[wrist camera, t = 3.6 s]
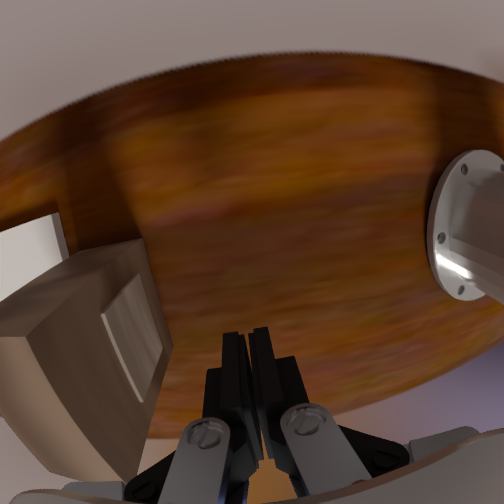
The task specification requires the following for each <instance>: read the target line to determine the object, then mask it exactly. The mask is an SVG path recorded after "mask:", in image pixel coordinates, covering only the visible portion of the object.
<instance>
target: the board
mask: <svg viewBox="0 0 504 504" xmlns="http://www.w3.org/2000/svg"><path fill="white" fill-rule="evenodd" d="M69 257H70V256H69V253H68V249H67V245H66V241H65V237H64V233H63V229H62V225H61V220H60V216H59V212H57V213H54V214H51V215H48V216H45V217H42V218H39V219H36V220H33V221H30V222H27V223H24V224H22V225H19V226H16V227H13V228H11V229H8V230H5V231H3V232H0V302H1V301H2V300H3V299H5V298H6V297H8V296H9V295H11V294H12V293H14V292H15V291H17V290H18V289H20V288H21V287H23V286H24V285H26V284H27V283H29V282H30V281H32V280H33V279H35V278H36V277H38V276H40V275H41V274H43V273H44V272H46V271H47V270H49V269H51V268H52V267H54V266H56V265H57V264H59V263H60V262H62V261H64V260H65V259H67V258H69Z"/></svg>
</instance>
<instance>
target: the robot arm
mask: <svg viewBox="0 0 504 504" xmlns="http://www.w3.org/2000/svg"><path fill="white" fill-rule="evenodd" d="M427 249H428V258H429V262H430V266H431V270H432V272H433V274H434V277H435V279H436V281H437V282H438V283H439V285H440V286H441V288H442V289H444V290H445V291H446V292H447V293H449V294H450V295H452V296H453V297H455V298H456V299H459V300H465V301H468V300H475V299H477V298H480V297H482V296H484V295H485V294H487V295H489V296H490V297H492V298H494V299H495V300H497V301H498V302H500V303H502V304H503V305H504V161H503V160H502V159H501V158H500V157H499V156H498V155H496V154H494V153H493V152H491V151H487V150H469V151H466V152H463V153H462V154H460V155H459V156H457V157H455V158H454V159H453V161H452V162H451V163H450V164H449V165H448V166H447V167H446V169H445V171H444V172H443V174H442V176H441V177H440V179H439V181H438V184H437V186H436V189H435V191H434V194H433V198H432V202H431V205H430V209H429V216H428V223H427ZM253 330H254V333H248V336H249V346H250V356H251V365H252V370H251V365H250V361H249V356H248V351H247V346H246V342H245V337H244V334H242V335H239V334H238V331H236V332H230V333H224V334H223V346H222V367H221V368H213V369H208V370H207V374H206V384H205V394H204V404H203V414H202V418H201V419H197V420H195V421H193V422H191V423H190V424H189V425H187V426H186V427H185V429H184V430H183V432H182V435H181V437H180V440H179V443H178V446H177V449H176V450H175V451H174V452H173V453H171V454H170V455H168V456H167V457H165V458H164V459H162V460H161V461H159V462H158V463H156V464H155V465H153V466H152V467H150V468H148V469H147V470H145V471H144V472H142V473H141V474H139V475H137V476H136V477H134V478H133V479H131V480H130V481H129V482H128V483H124V482H123V481H103V482H71V483H68V484H67V485H65V486H64V487H63V488H62V490H56V489H36V490H28V491H25V492H21V493H20V494H17V495H16V496H15V497H14V498H13V499H12V500H11V502H10V503H9V504H247V497H248V488H249V477H250V476H251V475H252V474H253V473H255V472H256V469H258V468H259V464H258V461H259V460H264V457H263V448H262V439H261V431H260V425H261V429H262V434H263V438H264V442H265V446H266V450H267V454H268V457H269V459H273V458H274V460H275V464H276V468H278V469H279V470H281V471H283V472H285V473H287V474H289V479H290V481H291V484H292V486H293V488H294V491H295V493H296V496H297V498H296V499H290V500H285V501H278V502H271V503H263V504H504V428H500V429H495V430H490V431H486V432H483V433H479V432H478V430H476V429H474V428H473V427H468V426H464V427H459V428H456V429H452V430H449V431H446V432H442V433H439V434H435V435H431V436H427V437H423V438H419V439H415V440H410V441H409V444H404V445H401V444H398V443H396V442H393V441H389V440H386V439H382V438H379V437H375V436H371V435H368V434H365V433H362V432H359V431H355V430H352V429H349V428H346V427H343V426H340V425H337V423H336V422H335V420H334V418H333V417H332V415H331V414H330V412H329V411H328V410H327V409H326V408H325V407H323V406H321V405H319V404H314V403H309V400H308V396H307V393H306V390H305V387H304V384H303V381H302V378H301V375H300V372H299V369H298V366H297V363H296V360H295V357H294V356H289V357H284V358H279V359H275V358H274V353H273V349H272V344H271V340H270V335H269V331H268V327H261V328H255V329H253ZM259 421H260V422H259Z"/></svg>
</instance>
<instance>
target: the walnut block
mask: <svg viewBox="0 0 504 504" xmlns="http://www.w3.org/2000/svg"><path fill="white" fill-rule="evenodd" d="M173 346H174V345H173V343H172V340H171V337H170V334H169V330H168V327H167V324H166V321H165V318H164V315H163V311H162V308H161V305H160V301H159V298H158V295H157V291H156V288H155V284H154V280H153V277H152V273H151V269H150V265H149V262H148V258H147V254H146V250H145V245H144V241H143V238H140V239H135V240H130V241H125V242H120V243H115V244H110V245H106V246H101V247H96V248H92V249H87V250H82V251H79V252H77V253H76V254H74V255H72V256H70V257H69V258H67V259H65V260H64V261H62V262H60V263H59V264H57V265H56V266H54V267H52V268H51V269H49V270H47V271H46V272H44V273H43V274H41V275H40V276H38V277H36V278H35V279H33V280H32V281H30V282H29V283H27V284H26V285H24V286H23V287H21V288H20V289H18V290H17V291H15V292H14V293H12V294H11V295H9V296H8V297H6V298H5V299H3V300H2V301H1V302H0V414H1V415H2V417H3V418H4V419H5V421H6V422H7V423H8V425H9V426H10V428H11V429H12V430H13V431H14V433H15V434H16V435H17V436H18V437H19V439H20V440H21V441H22V442H23V443H24V445H25V446H26V447H27V448H28V449H29V451H30V452H31V453H32V454H33V455H34V456H35V457H36V458H37V459H38V460H39V461H40V463H41V464H42V465H43V466H44V467H45V468H46V469H47V470H49V472H51V473H54V474H58V475H61V476H65V477H68V478H72V479H76V480H79V481H84V482H103V481H123V482H124V483H128V482H129V481H130V480H131V479H133V478H134V477H136V476H137V472H138V468H139V464H140V460H141V456H142V453H143V449H144V445H145V441H146V437H147V434H148V430H149V426H150V423H151V419H152V416H153V412H154V409H155V405H156V402H157V398H158V395H159V392H160V388H161V385H162V382H163V378H164V375H165V372H166V368H167V365H168V362H169V359H170V356H171V352H172V349H173Z"/></svg>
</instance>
